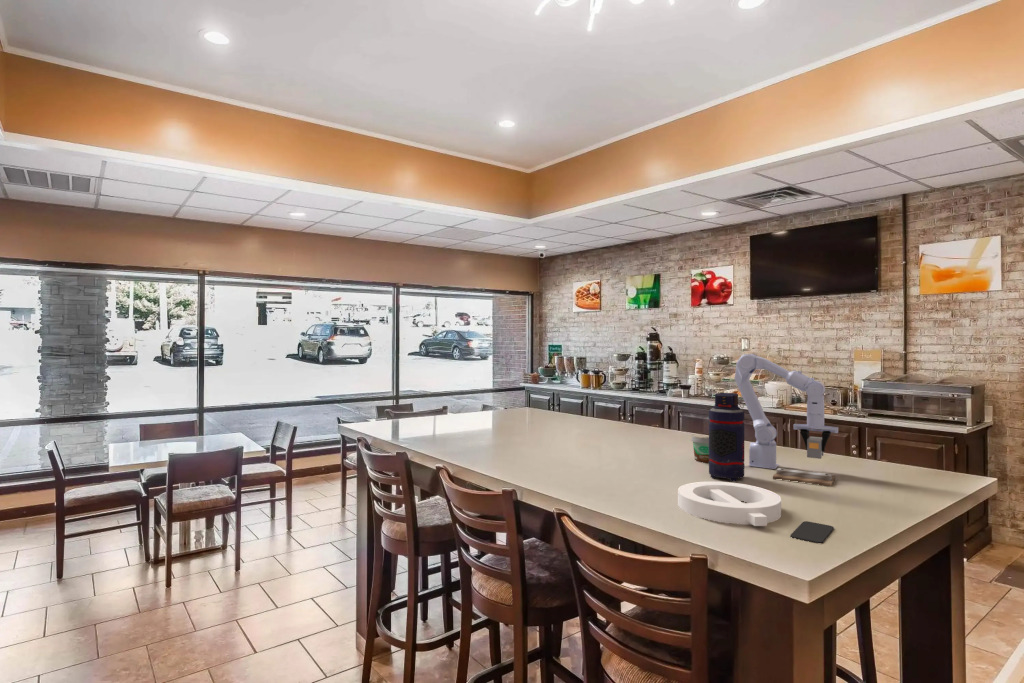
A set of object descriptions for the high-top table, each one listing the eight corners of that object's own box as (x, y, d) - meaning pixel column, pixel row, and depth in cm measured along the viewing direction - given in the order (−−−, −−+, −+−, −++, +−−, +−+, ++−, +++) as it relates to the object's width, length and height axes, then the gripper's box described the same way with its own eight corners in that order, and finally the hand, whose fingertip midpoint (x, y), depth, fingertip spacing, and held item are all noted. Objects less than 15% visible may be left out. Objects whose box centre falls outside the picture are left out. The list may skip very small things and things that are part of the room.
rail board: (772, 479, 200) (772, 471, 200) (779, 472, 210) (779, 465, 210) (831, 486, 189) (831, 478, 189) (834, 479, 199) (834, 471, 199)
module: (806, 457, 208) (807, 439, 208) (810, 453, 214) (810, 436, 214) (820, 458, 205) (820, 440, 205) (823, 455, 212) (823, 437, 212)
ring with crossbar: (698, 491, 185) (699, 477, 185) (792, 507, 167) (792, 491, 167) (662, 512, 163) (662, 495, 163) (764, 533, 145) (764, 514, 145)
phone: (788, 536, 141) (803, 520, 153) (788, 539, 141) (803, 523, 153) (822, 542, 136) (834, 526, 148) (822, 546, 136) (834, 529, 148)
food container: (691, 462, 226) (691, 437, 226) (690, 459, 232) (691, 435, 232) (724, 464, 223) (724, 439, 223) (723, 461, 229) (723, 436, 229)
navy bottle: (738, 483, 194) (738, 395, 194) (704, 478, 201) (704, 393, 201) (749, 475, 205) (749, 392, 205) (716, 471, 212) (716, 390, 212)
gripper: (792, 413, 211) (791, 450, 211) (836, 416, 202) (836, 454, 202) (795, 411, 216) (795, 447, 217) (838, 414, 208) (838, 451, 208)
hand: (815, 450), depth 210 cm, fingers closed on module, 4 cm apart
